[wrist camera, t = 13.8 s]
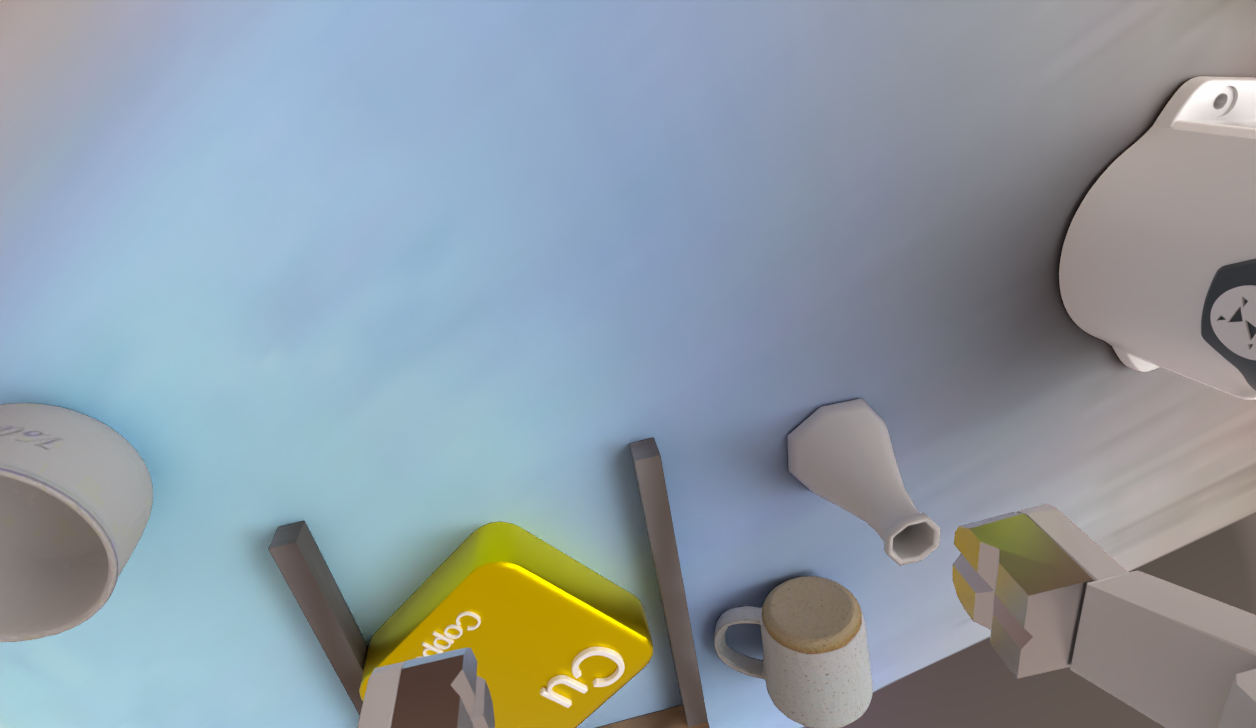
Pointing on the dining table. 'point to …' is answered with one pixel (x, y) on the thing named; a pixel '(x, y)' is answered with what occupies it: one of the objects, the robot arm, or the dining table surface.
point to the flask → (861, 476)
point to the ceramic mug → (807, 651)
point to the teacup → (64, 517)
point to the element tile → (522, 628)
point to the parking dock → (350, 650)
